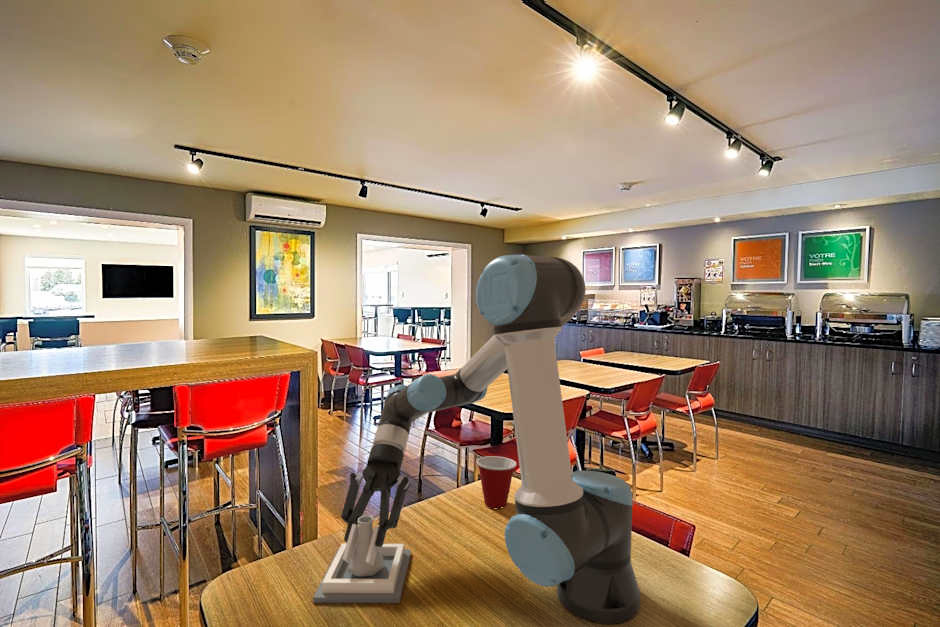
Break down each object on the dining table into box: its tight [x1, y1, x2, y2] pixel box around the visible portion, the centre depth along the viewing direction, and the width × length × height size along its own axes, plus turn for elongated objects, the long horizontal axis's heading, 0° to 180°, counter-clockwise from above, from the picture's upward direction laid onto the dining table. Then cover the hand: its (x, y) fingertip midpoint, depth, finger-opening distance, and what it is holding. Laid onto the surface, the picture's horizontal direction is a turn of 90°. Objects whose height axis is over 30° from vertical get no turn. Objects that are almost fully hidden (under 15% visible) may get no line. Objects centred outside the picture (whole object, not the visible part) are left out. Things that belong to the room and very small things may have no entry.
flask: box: [348, 514, 384, 576], centre depth 95 cm, size 7×7×10 cm
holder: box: [312, 542, 412, 604], centre depth 95 cm, size 16×16×3 cm
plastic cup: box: [476, 455, 517, 509], centre depth 126 cm, size 11×11×12 cm
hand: (357, 562), depth 91 cm, fingers closed on flask, 4 cm apart
